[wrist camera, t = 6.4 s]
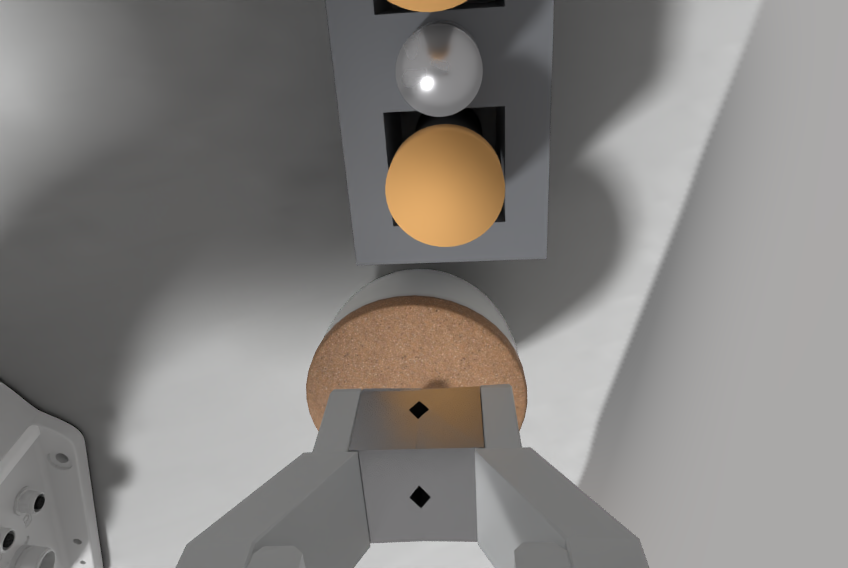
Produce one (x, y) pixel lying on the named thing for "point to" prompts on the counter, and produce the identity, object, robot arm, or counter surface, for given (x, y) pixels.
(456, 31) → the shiny silver ball
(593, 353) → the counter surface
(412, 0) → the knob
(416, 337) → the lidded jar
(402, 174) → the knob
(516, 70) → the mount
